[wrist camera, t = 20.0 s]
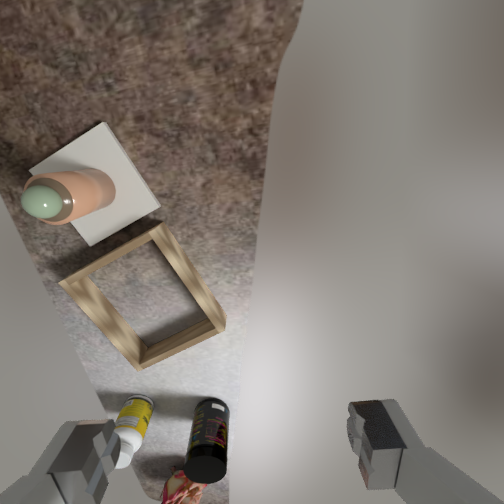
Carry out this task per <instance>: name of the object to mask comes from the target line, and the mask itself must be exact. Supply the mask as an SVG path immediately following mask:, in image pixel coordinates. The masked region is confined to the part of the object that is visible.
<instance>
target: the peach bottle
mask: <svg viewBox="0 0 504 504" xmlns="http://www.w3.org/2000/svg"><path fill="white" fill-rule="evenodd" d="M115 195H116V189H115V185H114V183H113V181H112V179H111V178H110V177H109V176H108V175H107V174H106V173H105V172H103V171H101V170H98V169H93V168H90V169H81V170H71V171H62V172H53V173H43V174H37V175H34V176H33V177H31V178H30V179H29V180H28V181H27V182H26V184H25V186H24V192H23V194H22V196H21V204H22V206H23V208H24V210H25V211H26V212H27V213H29V214H30V215H32V216H34V217H37V218H38V219H40V220H41V221H43V222H46V223H48V224H53V225H61V224H65V223H68V222H70V221H73V220H75V219H78V218H80V217H82V216H85V215H87V214H90V213H92V212H95V211H97V210H100V209H102V208H105V207H107V206H109V205H110V204H111V203H112V202H113V201H114V199H115Z"/></svg>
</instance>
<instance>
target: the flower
mask: <svg viewBox="0 0 504 504" xmlns="http://www.w3.org/2000/svg"><path fill="white" fill-rule="evenodd" d="M171 471H172V473H173V476H172V477H171V478H170V479H168V480H167V481H166V483H165V485H164V489H163V490H164V492H163V491H162V493H161V496H162V494H163V502H162V503H161V504H199V500H200V498H201V496H202V494H203V493H201V490H202V489H203V488H204V487H206V486H207V484H200V483H196V482H193V481H191V480H189V479H188V478H187V477H186V476H185V474H184V472H183V470H178V471H177V470H176V468H175V466H174V467H172V468H171ZM161 496H160V497H161Z"/></svg>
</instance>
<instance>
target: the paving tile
mask: <svg viewBox="0 0 504 504" xmlns="http://www.w3.org/2000/svg"><path fill="white" fill-rule="evenodd" d="M90 168H93V169H98V170H101V171H103V172H105V173H106V174H107V175H108V176H109V177H110V178H111V179H112V181H113V183H114V185H115V189H116V195H115V199H114V201H113V202H112V203H111V204H110V205H109V206H107V207H105V208H102V209H100V210H97V211H95V212H92V213H90V214H87V215H85V216H82V217H80V218H78V219H75V220H73V221H70V222H71V223H72V225H73V226H74V227H75V228H76V230H77V231H78V232H79V233H80V235H81V236H82V237H83V238H84V240H85V241H86V242H87V243H88V245H89V246H90V247H91V246H92V245H94V244H96V243H98V242H99V241H101V240H103V239H105V238H106V237H108V236H110V235H112V234H113V233H115V232H117V231H118V230H120V229H122V228H124V227H125V226H127V225H129V224H131V223H132V222H134V221H136V220H138V219H139V218H141V217H143V216H145V215H146V214H148V213H150V212H152V211H153V210H155V209H157V208H159V207H160V206H161V205H160V203H159V202H158V200H157V199H156V197H155V196H154V194H153V193H152V191H151V190H150V188H149V187H148V185H147V184H146V182H145V181H144V179H143V178H142V176H141V175H140V173H139V172H138V170H137V169H136V167H135V166H134V164H133V163H132V161H131V160H130V158H129V157H128V155H127V154H126V152H125V151H124V149H123V148H122V146H121V145H120V143H119V142H118V140H117V138H116V137H115V135H114V134H113V132H112V131H111V129H110V128H109V126H108V125H107V123H105V122H102V123H100V124H99V125H97V126H96V127H94V128H93V129H91V130H90V131H88V132H87V133H85V134H84V135H82V136H80V137H79V138H77V139H76V140H74V141H73V142H71V143H70V144H68V145H67V146H65V147H64V148H62V149H60V150H59V151H57V152H56V153H54V154H53V155H51V156H50V157H48V158H47V159H45V160H44V161H42V162H40V163H39V164H37V165H36V166H34V167H33V168H31V169H30V170H29V171H30V172H31V174H32V175H33V176H34V175H37V174H43V173H53V172H62V171H71V170H81V169H90Z"/></svg>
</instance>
